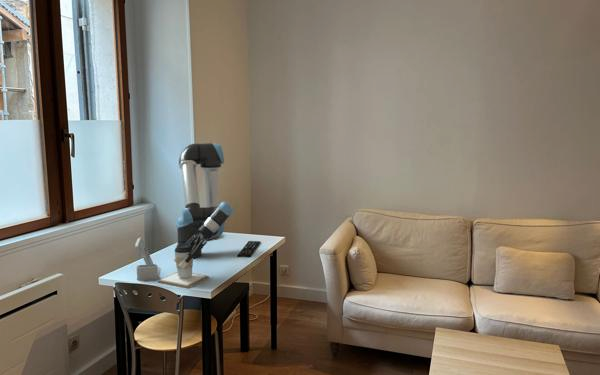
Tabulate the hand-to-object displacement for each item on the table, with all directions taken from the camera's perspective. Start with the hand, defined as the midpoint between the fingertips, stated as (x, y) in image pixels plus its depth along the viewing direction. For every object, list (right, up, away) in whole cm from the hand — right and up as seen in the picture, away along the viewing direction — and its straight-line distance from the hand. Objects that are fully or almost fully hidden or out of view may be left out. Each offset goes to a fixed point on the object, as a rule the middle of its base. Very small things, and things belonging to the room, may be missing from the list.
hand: (177, 264), depth 218 cm
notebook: (+2, -8, +2) cm, 9 cm away
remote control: (+28, -1, +56) cm, 63 cm away
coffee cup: (+3, -6, +2) cm, 7 cm away
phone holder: (-18, -7, +10) cm, 22 cm away
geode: (-3, +3, +81) cm, 81 cm away
